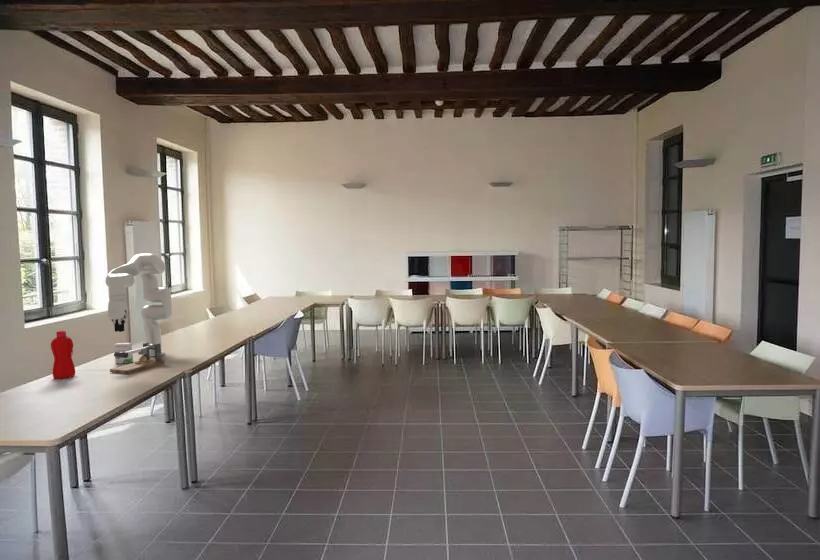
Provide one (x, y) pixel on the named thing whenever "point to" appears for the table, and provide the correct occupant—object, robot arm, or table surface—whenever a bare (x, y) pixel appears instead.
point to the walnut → (142, 359)
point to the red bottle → (62, 356)
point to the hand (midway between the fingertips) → (119, 331)
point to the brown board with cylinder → (141, 365)
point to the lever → (135, 351)
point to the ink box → (123, 348)
